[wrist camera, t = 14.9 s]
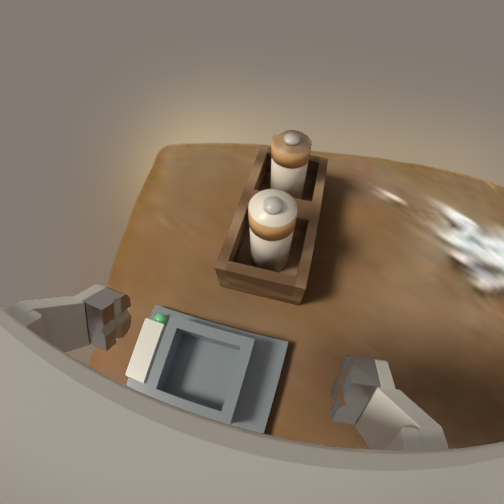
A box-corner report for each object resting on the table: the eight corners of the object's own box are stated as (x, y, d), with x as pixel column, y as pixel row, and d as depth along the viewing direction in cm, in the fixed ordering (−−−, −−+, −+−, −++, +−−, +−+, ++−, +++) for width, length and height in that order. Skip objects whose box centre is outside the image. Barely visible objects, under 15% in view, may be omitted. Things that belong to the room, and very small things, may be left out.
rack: (261, 170, 39) (261, 146, 35) (322, 183, 37) (327, 158, 33) (220, 286, 30) (214, 267, 26) (299, 305, 29) (305, 289, 25)
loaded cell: (294, 179, 36) (301, 123, 29) (308, 202, 34) (319, 146, 27) (264, 186, 36) (265, 130, 28) (277, 211, 34) (281, 154, 26)
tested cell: (279, 235, 32) (286, 180, 24) (294, 266, 30) (307, 215, 22) (245, 246, 32) (241, 192, 24) (258, 279, 30) (258, 230, 22)
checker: (158, 307, 29) (147, 296, 26) (287, 343, 27) (291, 336, 24) (127, 393, 25) (112, 391, 22) (261, 439, 23) (261, 444, 20)
